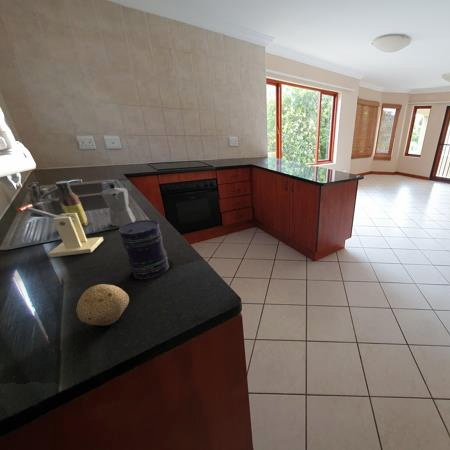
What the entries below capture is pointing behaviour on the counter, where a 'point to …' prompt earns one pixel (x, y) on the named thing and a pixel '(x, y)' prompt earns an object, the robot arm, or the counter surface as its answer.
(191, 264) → the counter surface
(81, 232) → the bracket
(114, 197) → the coffeepot
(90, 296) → the potato
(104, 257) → the counter surface
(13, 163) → the robot arm
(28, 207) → the lever
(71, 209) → the sauce bottle
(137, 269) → the storage jar
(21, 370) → the counter surface
